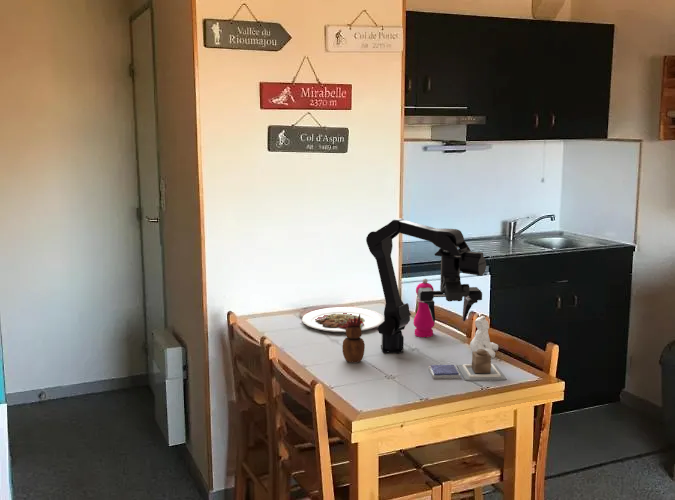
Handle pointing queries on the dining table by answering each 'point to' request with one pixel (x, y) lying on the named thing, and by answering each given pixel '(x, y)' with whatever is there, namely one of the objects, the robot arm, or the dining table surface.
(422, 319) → the pepper mill
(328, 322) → the plated food
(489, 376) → the board
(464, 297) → the robot arm
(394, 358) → the dining table surface
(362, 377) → the dining table surface
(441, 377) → the ink pad
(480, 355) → the stamp
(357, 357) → the wooden figurine
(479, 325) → the seated beast figurine
